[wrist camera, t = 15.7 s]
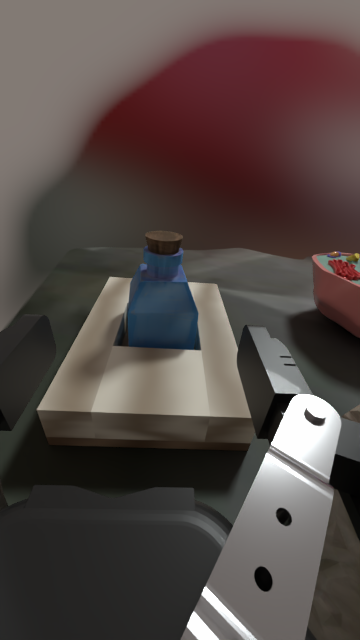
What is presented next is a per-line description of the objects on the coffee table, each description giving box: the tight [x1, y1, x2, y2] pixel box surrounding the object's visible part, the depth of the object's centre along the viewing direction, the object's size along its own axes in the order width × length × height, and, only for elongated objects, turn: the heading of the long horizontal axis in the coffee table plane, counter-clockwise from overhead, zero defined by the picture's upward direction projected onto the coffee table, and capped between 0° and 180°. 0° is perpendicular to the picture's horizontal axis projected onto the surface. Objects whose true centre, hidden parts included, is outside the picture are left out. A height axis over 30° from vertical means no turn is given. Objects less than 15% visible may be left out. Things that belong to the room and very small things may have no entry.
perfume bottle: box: [128, 231, 199, 350], centre depth 25 cm, size 6×6×12 cm
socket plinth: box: [37, 277, 255, 451], centre depth 27 cm, size 15×22×4 cm
